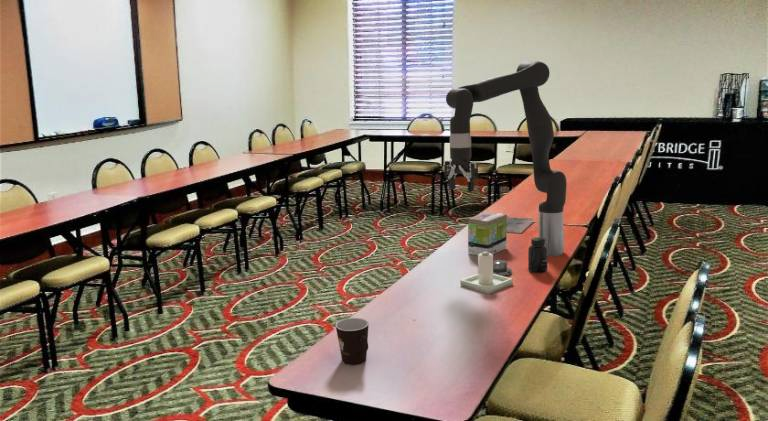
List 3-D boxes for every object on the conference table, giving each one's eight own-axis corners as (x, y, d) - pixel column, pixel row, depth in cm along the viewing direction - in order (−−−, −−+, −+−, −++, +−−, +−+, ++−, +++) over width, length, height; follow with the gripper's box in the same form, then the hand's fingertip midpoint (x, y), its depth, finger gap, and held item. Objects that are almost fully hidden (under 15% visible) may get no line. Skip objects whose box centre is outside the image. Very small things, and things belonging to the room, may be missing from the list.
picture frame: (499, 220, 314) (485, 231, 295) (499, 215, 314) (485, 226, 295) (533, 223, 307) (521, 234, 288) (533, 217, 306) (521, 229, 287)
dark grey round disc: (497, 267, 242) (496, 257, 241) (516, 272, 235) (516, 261, 234) (481, 273, 236) (481, 262, 235) (501, 278, 229) (500, 267, 228)
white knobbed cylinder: (484, 279, 227) (484, 249, 224) (496, 282, 223) (495, 252, 221) (475, 283, 223) (474, 252, 221) (486, 286, 220) (486, 255, 217)
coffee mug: (337, 354, 175) (335, 319, 173) (369, 351, 176) (367, 316, 174) (338, 373, 164) (335, 336, 162) (372, 371, 164) (370, 334, 162)
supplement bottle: (547, 274, 232) (548, 241, 229) (528, 273, 233) (528, 241, 231) (547, 268, 238) (547, 236, 236) (528, 267, 240) (528, 236, 237)
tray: (484, 276, 232) (484, 271, 232) (512, 284, 223) (512, 278, 222) (460, 285, 224) (460, 280, 224) (489, 293, 215) (488, 288, 214)
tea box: (489, 257, 254) (489, 221, 251) (467, 254, 260) (466, 218, 257) (507, 248, 266) (507, 213, 263) (485, 245, 272) (485, 210, 269)
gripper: (482, 145, 227) (483, 191, 231) (452, 143, 238) (453, 186, 242) (468, 148, 223) (469, 194, 226) (438, 145, 233) (439, 189, 237)
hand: (461, 190), depth 234 cm, fingers open, 8 cm apart
